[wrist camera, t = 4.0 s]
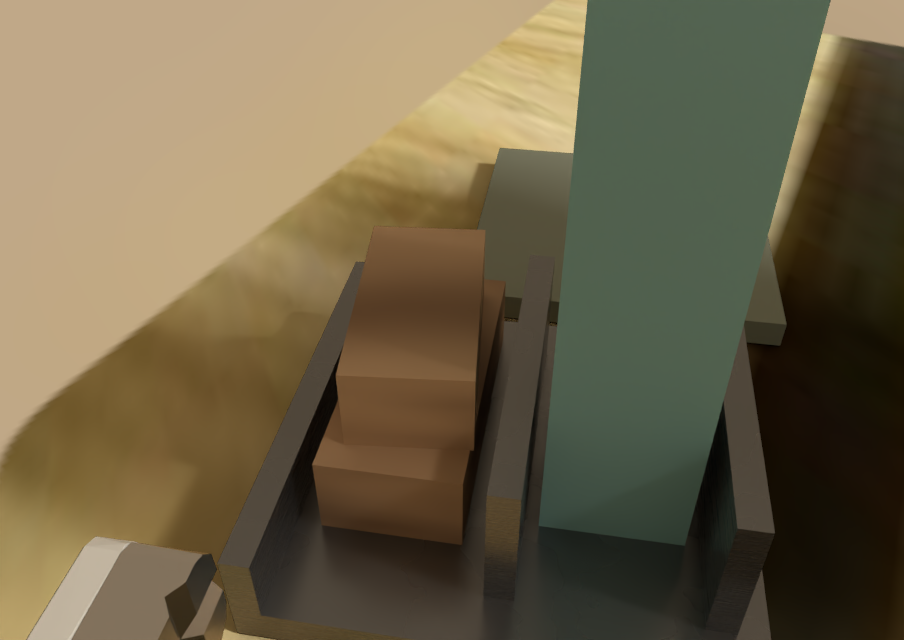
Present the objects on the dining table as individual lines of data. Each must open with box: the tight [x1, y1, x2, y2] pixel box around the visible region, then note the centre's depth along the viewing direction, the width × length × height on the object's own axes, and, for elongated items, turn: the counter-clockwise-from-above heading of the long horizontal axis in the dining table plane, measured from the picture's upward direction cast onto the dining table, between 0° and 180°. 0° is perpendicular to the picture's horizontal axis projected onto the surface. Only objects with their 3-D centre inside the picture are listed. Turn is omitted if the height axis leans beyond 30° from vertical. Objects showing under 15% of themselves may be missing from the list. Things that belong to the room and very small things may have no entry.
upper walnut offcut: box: [336, 226, 485, 451], centre depth 25 cm, size 7×4×2 cm, turn 176°
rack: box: [217, 255, 775, 640], centre depth 25 cm, size 13×14×5 cm
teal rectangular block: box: [539, 0, 830, 546], centre depth 20 cm, size 5×4×18 cm
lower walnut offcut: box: [312, 279, 506, 545], centre depth 26 cm, size 9×4×2 cm, turn 170°
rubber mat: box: [477, 148, 787, 346], centre depth 37 cm, size 12×12×1 cm
